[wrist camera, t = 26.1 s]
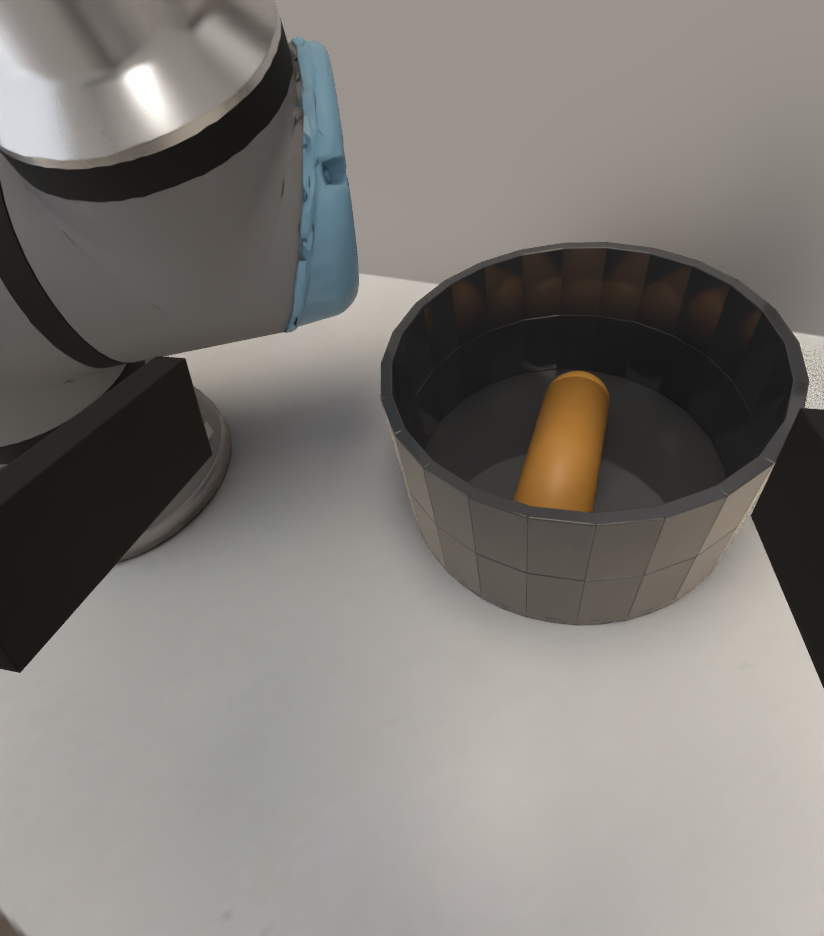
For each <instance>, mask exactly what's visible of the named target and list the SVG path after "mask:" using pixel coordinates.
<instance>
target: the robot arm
mask: <svg viewBox="0 0 824 936" xmlns="http://www.w3.org/2000/svg"><path fill="white" fill-rule="evenodd" d="M358 286H359V271H358V257H357V246H356V237H355V228H354V220H353V211H352V204H351V197H350V190H349V183H348V178H347V176H346V162H345V155H344V148H343V136H342V129H341V122H340V115H339V108H338V102H337V95H336V89H335V84H334V78H333V72H332V67H331V62H330V58H329V55H328V52H327V50H326V48H325V47H324V46H323V45H322V44H320V43H319V42H316V41H306V40H304V39H303V38H300V39H298V37H296V38H292V40H291V42H289V43H288V42H287V39H286V35H285V32H284V29H283V26H282V22H281V19H280V15H279V12H278V9H277V6H276V3H275V1H274V0H0V669H4V670H9V671H14V672H19V673H20V672H21V671H22V670H23V669H24V668H25V667H26V666H27V665H28V663H29V662H30V661H31V660H32V659H33V658H34V657H35V655H36V654H37V653H38V652H39V651H40V650H41V649H42V647H43V646H44V645H45V644H46V643H47V642H48V641H49V640H50V638H51V637H52V636H53V635H54V634H55V633H56V632H57V630H58V629H59V628H60V627H61V626H62V625H63V624H64V623H65V621H66V620H67V619H68V618H69V617H70V616H71V615H72V613H73V612H74V611H75V610H76V609H77V608H78V607H79V606H80V604H81V603H82V602H83V601H84V600H85V599H86V598H87V596H88V595H89V594H90V593H91V592H92V591H93V590H94V588H95V587H96V586H97V585H98V584H99V583H100V582H101V581H102V579H103V578H104V577H105V576H106V575H107V574H108V573H109V571H110V570H111V569H112V568H113V567H114V566H115V565H116V564H117V562H119V561H122V560H125V559H128V558H131V557H134V556H136V555H138V554H141V553H143V552H145V551H147V550H149V549H151V548H153V547H155V546H156V545H158V544H160V543H161V542H163V541H165V540H166V539H168V538H169V537H171V536H172V535H174V534H175V533H176V532H178V531H179V530H180V529H181V528H183V527H184V526H185V525H186V524H187V523H189V522H190V521H191V520H192V519H193V518H194V517H195V516H196V515H197V514H198V513H199V512H200V511H201V510H202V509H203V507H204V506H205V505H206V504H207V502H208V501H209V500H210V499H211V497H212V496H213V494H214V493H215V491H216V490H217V488H218V486H219V485H220V483H221V481H222V479H223V477H224V475H225V472H226V469H227V467H228V463H229V459H230V453H231V438H230V433H229V430H228V427H227V425H226V423H225V421H224V419H223V418H222V416H221V415H220V413H219V411H218V410H217V408H216V407H215V405H214V404H213V402H212V401H211V400H210V399H209V398H208V397H206V396H205V395H204V394H203V393H202V392H201V391H200V390H198V389H197V388H196V387H194V386H193V384H192V380H191V377H190V373H189V370H188V366H187V363H186V359H185V358H173V357H162V356H167V355H172V354H177V353H182V352H187V351H192V350H197V349H202V348H207V347H212V346H217V345H222V344H227V343H232V342H237V341H242V340H247V339H252V338H257V337H262V336H267V335H272V334H277V333H282V332H285V333H288V332H292V331H294V330H295V329H296V328H297V327H299V326H302V325H305V324H309V323H312V322H316V321H319V320H322V319H326V318H329V317H333V316H336V315H339V314H340V313H342V312H344V311H345V310H346V309H347V308H348V307H349V306H350V305H351V304H352V303H353V301H354V299H355V297H356V295H357V292H358ZM751 517H752V520H753V522H754V524H755V527H756V529H757V531H758V534H759V536H760V539H761V541H762V543H763V546H764V548H765V550H766V553H767V555H768V557H769V560H770V562H771V565H772V567H773V569H774V572H775V574H776V576H777V579H778V581H779V584H780V586H781V588H782V591H783V593H784V595H785V598H786V600H787V603H788V605H789V607H790V610H791V612H792V614H793V617H794V619H795V622H796V624H797V626H798V629H799V631H800V633H801V636H802V638H803V640H804V643H805V645H806V648H807V650H808V652H809V655H810V657H811V659H812V662H813V664H814V667H815V669H816V671H817V674H818V676H819V678H820V681H821V683H822V686H823V688H824V410H820V409H807V408H800V409H799V412H798V414H797V416H796V418H795V420H794V423H793V425H792V427H791V429H790V431H789V434H788V436H787V438H786V440H785V442H784V445H783V447H782V449H781V451H780V453H779V456H778V458H777V460H776V462H775V464H774V467H773V469H772V471H771V473H770V475H769V477H768V480H767V482H766V484H765V486H764V488H763V491H762V493H761V495H760V497H759V499H758V502H757V504H756V506H755V508H754V510H753V513H752V515H751Z"/></svg>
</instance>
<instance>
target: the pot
mask: <svg viewBox="0 0 824 936" xmlns="http://www.w3.org/2000/svg"><path fill="white" fill-rule="evenodd" d="M571 371H584V372H588V373H591V374H593V375H595V376H596V377H597V378H599V379H600V380H601V381H602V382H603V383H604V385H605V386H606V388H607V390H608V393H609V397H610V407H609V414H608V420H607V426H606V432H605V439H604V445H603V451H602V457H601V464H600V470H599V476H598V482H597V489H596V495H595V501H594V508H593V513H591V512H581V511H572V510H562V509H553V508H543V507H534V506H529V505H526V504H523V503H520V502H517V501H514V500H513V499H514V496H515V493H516V489H517V486H518V483H519V479H520V476H521V472H522V469H523V466H524V462H525V459H526V455H527V452H528V449H529V445H530V442H531V439H532V435H533V432H534V428H535V425H536V422H537V418H538V415H539V412H540V408H541V405H542V401H543V398H544V395H545V392H546V390H547V388H548V386H549V385H550V384H551V383H552V382H553V381H554V380H555V379H556V378H557V377H558V376H560V375H562V374H564V373H567V372H571ZM808 386H809V379H808V375H807V371H806V367H805V363H804V359H803V356H802V352H801V348H800V344H799V341H798V340H797V338H796V337H795V336H794V334H793V333H792V331H791V330H790V329H789V327H788V326H787V324H786V323H785V322H784V320H783V319H782V317H781V316H780V315H779V314H778V312H777V311H776V309H775V308H774V307H772V306H771V305H770V304H769V303H767V302H766V301H765V300H764V299H762V298H761V297H760V296H758V295H757V294H756V293H755V292H754V291H752V290H751V289H750V288H748V287H747V286H746V285H745V284H743V283H742V282H741V281H739V280H737V279H735V278H733V277H731V276H729V275H727V274H725V273H723V272H721V271H719V270H717V269H715V268H713V267H711V266H709V265H707V264H705V263H702V262H700V261H698V260H695V259H691V258H688V257H684V256H681V255H677V254H674V253H670V252H667V251H663V250H660V249H656V248H650V247H642V246H634V245H626V244H618V243H608V242H592V243H591V242H588V243H561V244H554V245H548V246H541V247H535V248H529V249H522V250H519V251H515V252H512V253H509V254H505V255H502V256H499V257H496V258H493V259H490V260H486V261H483V262H481V263H478V264H476V265H474V266H472V267H470V268H468V269H466V270H464V271H462V272H460V273H458V274H457V275H454V276H452V277H451V278H449V279H447V280H445V281H443V282H442V283H441V284H439V285H438V286H437V287H436V288H434V289H433V290H432V291H430V292H429V293H428V294H427V295H425V296H424V297H423V298H422V299H420V300H419V301H418V302H417V303H416V304H414V306H413V307H412V308H411V309H410V311H409V312H408V313H407V315H406V316H405V317H404V318H403V320H402V321H401V322H400V324H399V325H398V326H397V327H396V329H395V330H394V332H393V333H392V336H391V338H390V341H389V343H388V346H387V349H386V351H385V354H384V357H383V359H382V362H381V397H380V398H381V402H382V406H383V409H384V413H385V416H386V420H387V423H388V427H389V430H390V434H391V437H392V441H393V444H394V448H395V451H396V455H397V458H398V462H399V465H400V469H401V472H402V476H403V480H404V483H405V487H406V490H407V494H408V497H409V501H410V504H411V507H412V510H413V513H414V515H415V518H416V521H417V524H418V527H419V529H420V532H421V534H422V537H423V539H424V540H425V542H426V544H427V545H428V547H429V549H430V550H431V552H432V553H433V555H434V556H435V558H436V559H437V560H438V561H439V562H440V563H441V565H442V566H443V567H444V568H445V569H446V570H447V571H448V573H450V574H451V575H452V576H453V577H454V578H455V579H456V580H458V581H459V582H460V583H461V584H462V585H463V586H464V587H466V588H467V589H469V590H471V591H472V592H474V593H475V594H477V595H478V596H480V597H481V598H483V599H485V600H487V601H489V602H491V603H493V604H495V605H497V606H499V607H501V608H503V609H505V610H508V611H511V612H514V613H517V614H519V615H522V616H525V617H529V618H533V619H538V620H543V621H547V622H553V623H563V624H573V625H584V624H605V623H611V622H618V621H625V620H628V619H632V618H635V617H639V616H642V615H646V614H649V613H651V612H654V611H656V610H658V609H660V608H663V607H665V606H667V605H669V604H671V603H673V602H674V601H676V600H678V599H679V598H681V597H682V596H684V595H686V594H687V593H689V592H690V591H691V590H692V589H693V588H695V587H696V586H697V585H698V584H699V583H700V582H701V581H703V580H704V579H705V578H706V577H707V576H708V575H709V574H710V573H711V571H712V570H713V568H714V567H715V566H716V564H717V563H718V562H719V560H720V558H721V557H722V555H723V554H724V552H725V551H726V549H727V548H728V546H729V545H730V543H731V542H732V540H733V539H734V537H735V535H736V534H737V532H738V530H739V529H740V527H741V525H742V524H743V522H744V520H745V519H746V517H747V515H748V513H749V512H750V510H751V508H752V507H753V505H754V503H755V502H756V500H757V498H758V497H759V495H760V493H761V491H762V490H763V488H764V486H765V484H766V482H767V480H768V477H769V475H770V473H771V471H772V469H773V467H774V464H775V462H776V460H777V458H778V456H779V453H780V451H781V449H782V447H783V445H784V442H785V440H786V438H787V436H788V434H789V431H790V429H791V427H792V425H793V423H794V420H795V418H796V416H797V414H798V412H799V409H800V408H805V402H806V397H807V391H808Z"/></svg>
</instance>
